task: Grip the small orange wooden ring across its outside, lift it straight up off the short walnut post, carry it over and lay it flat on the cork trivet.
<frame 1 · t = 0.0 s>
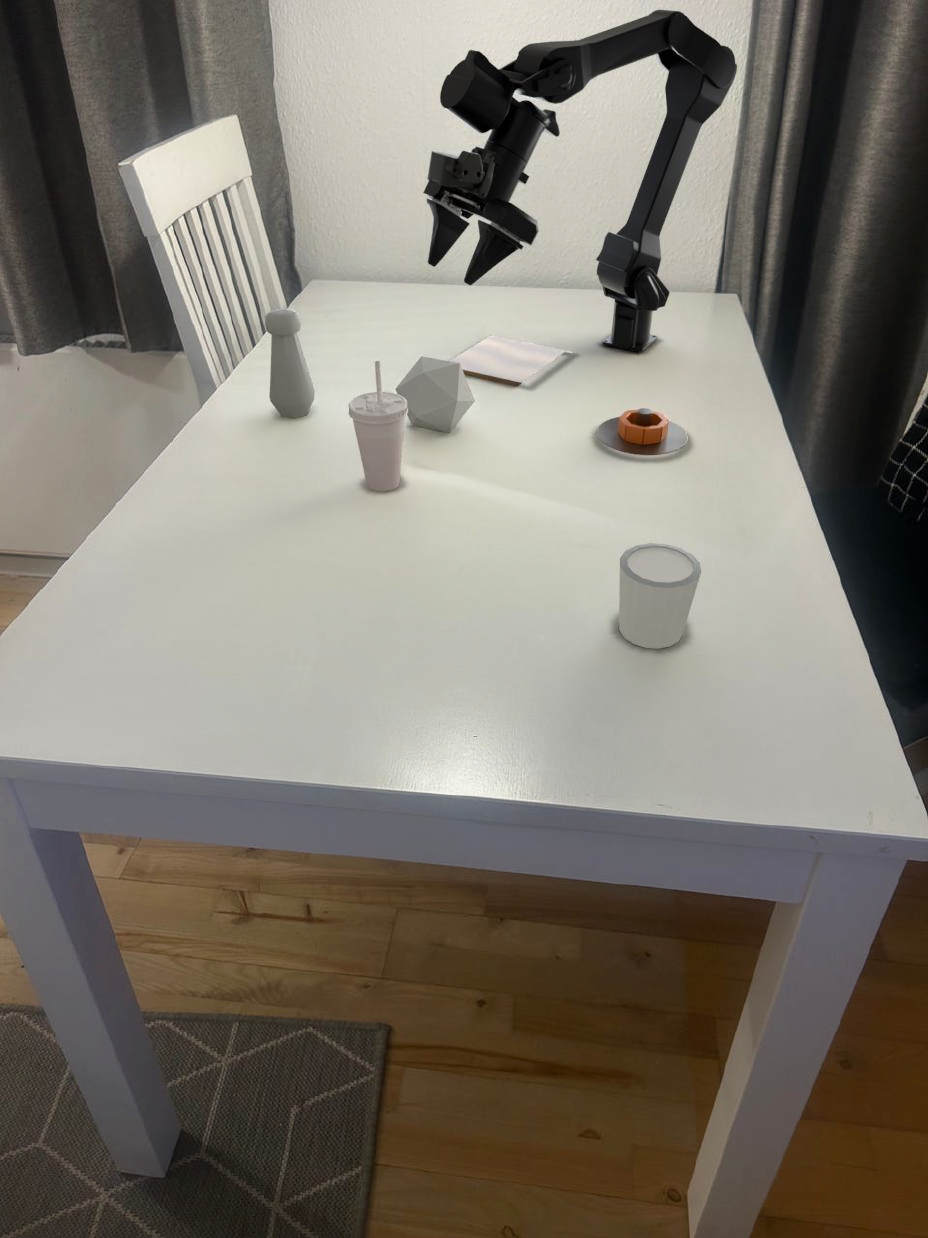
hand: (448, 274, 116), 15 cm above the table, tool tilted 35°, fingers open, 9 cm apart
smoothie: (383, 485, 103), on the table
salt shaker: (294, 413, 119), on the table
trivet: (509, 362, 132), on the table
shot glass: (650, 630, 82), on the table
ring post: (641, 440, 112), on the table
die: (436, 426, 115), on the table
ring: (642, 434, 111), point 1 cm above the table, touching ring post
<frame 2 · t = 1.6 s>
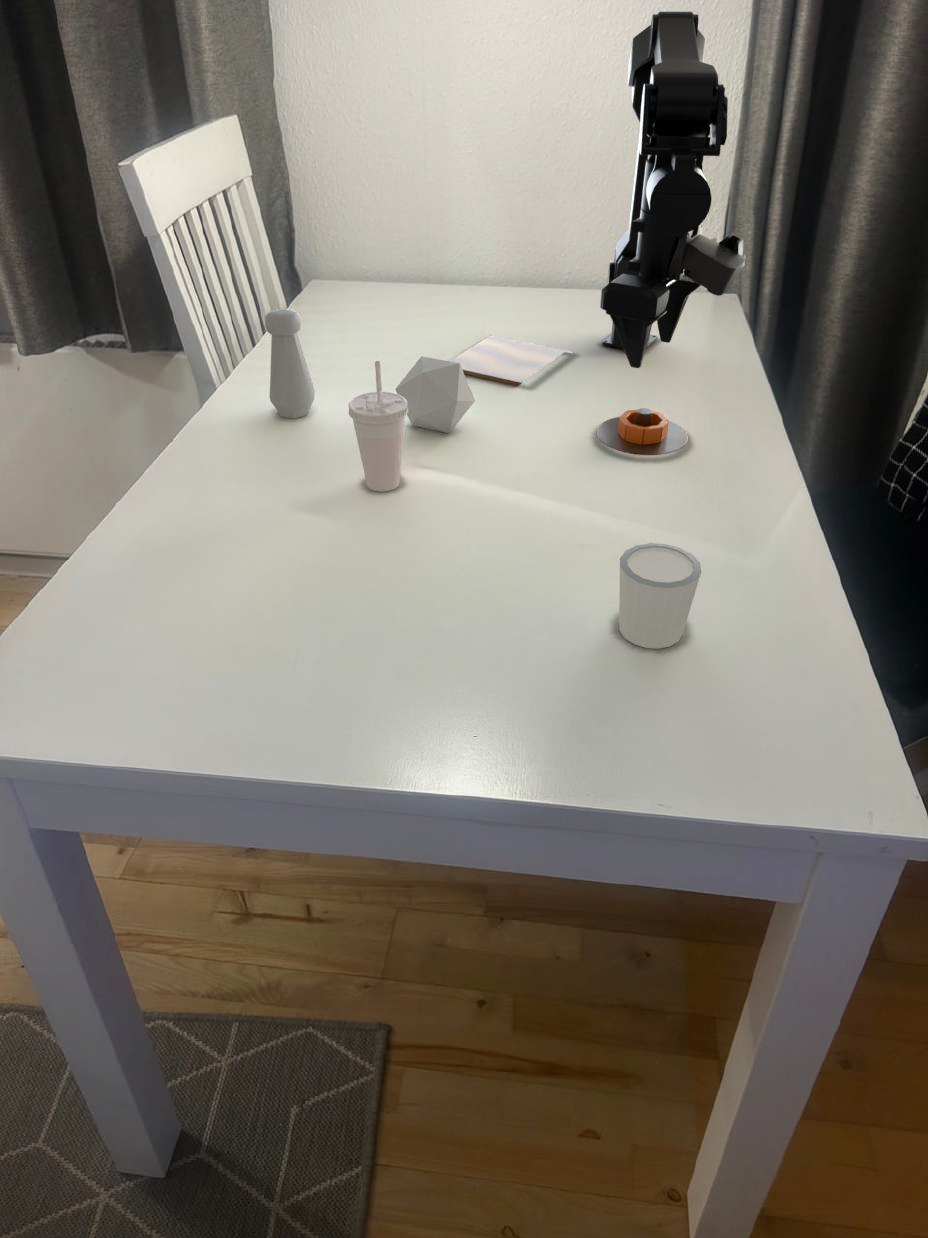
hand: (650, 354, 105), 11 cm above the table, tool pointing down, fingers open, 9 cm apart
nothing on the table moved.
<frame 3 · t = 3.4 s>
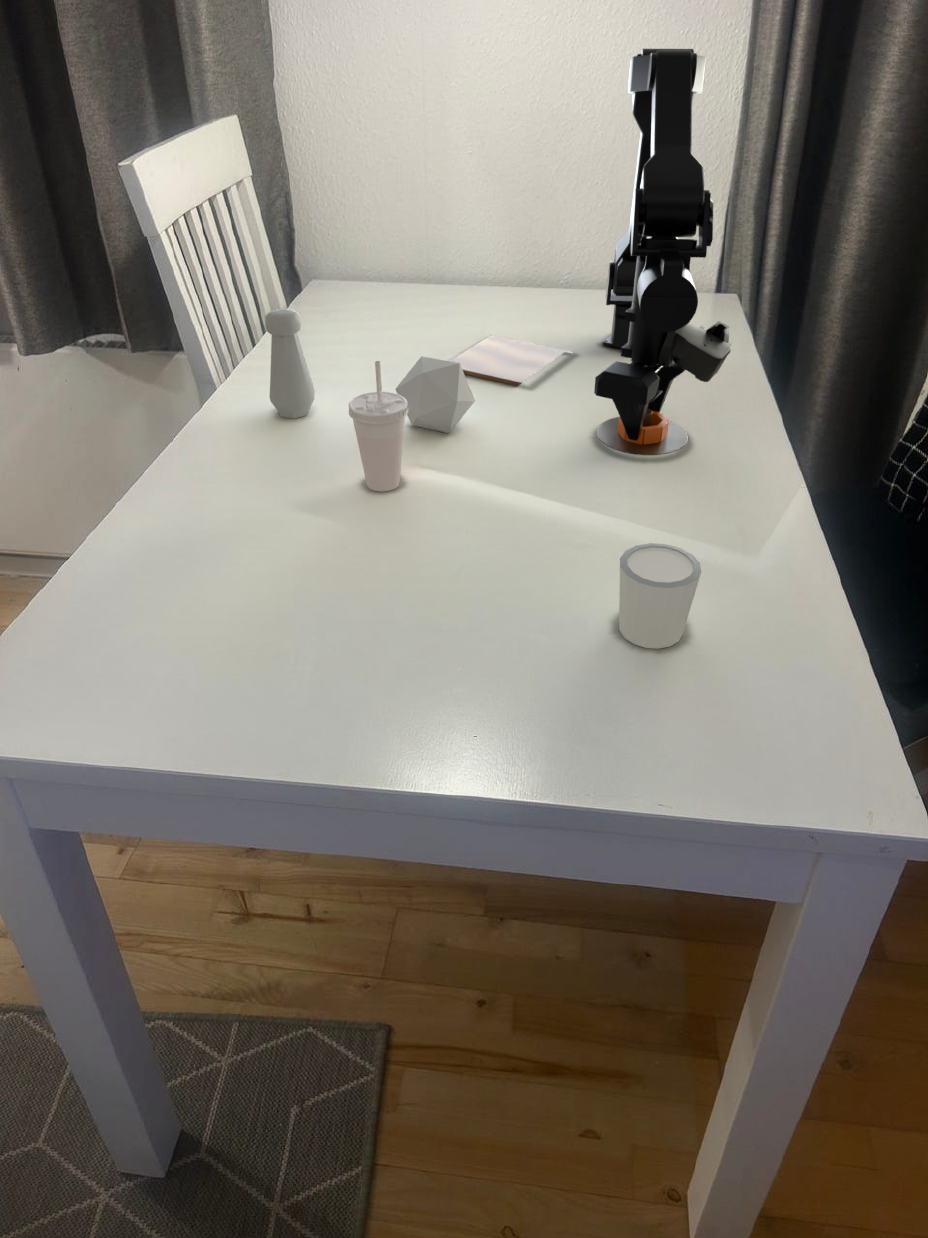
hand: (642, 430, 111), 1 cm above the table, tool pointing down, fingers closed on ring, 5 cm apart
ring: (642, 434, 111), point 1 cm above the table, touching gripper, ring post
everything else where it was.
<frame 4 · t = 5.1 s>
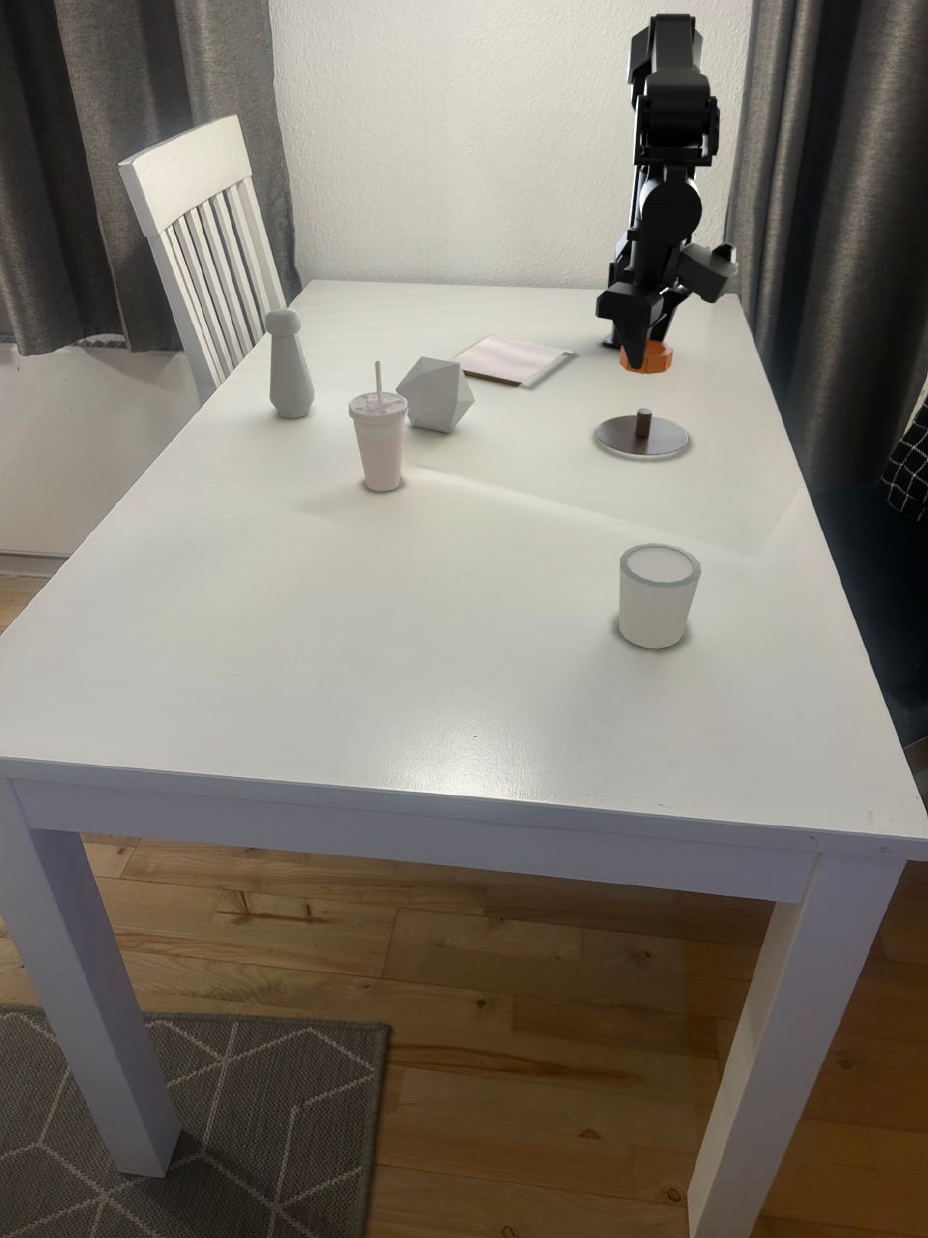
hand: (645, 360, 106), 10 cm above the table, tool pointing down, fingers closed on ring, 5 cm apart
ring: (645, 364, 107), point 9 cm above the table, touching gripper
everything else where it was.
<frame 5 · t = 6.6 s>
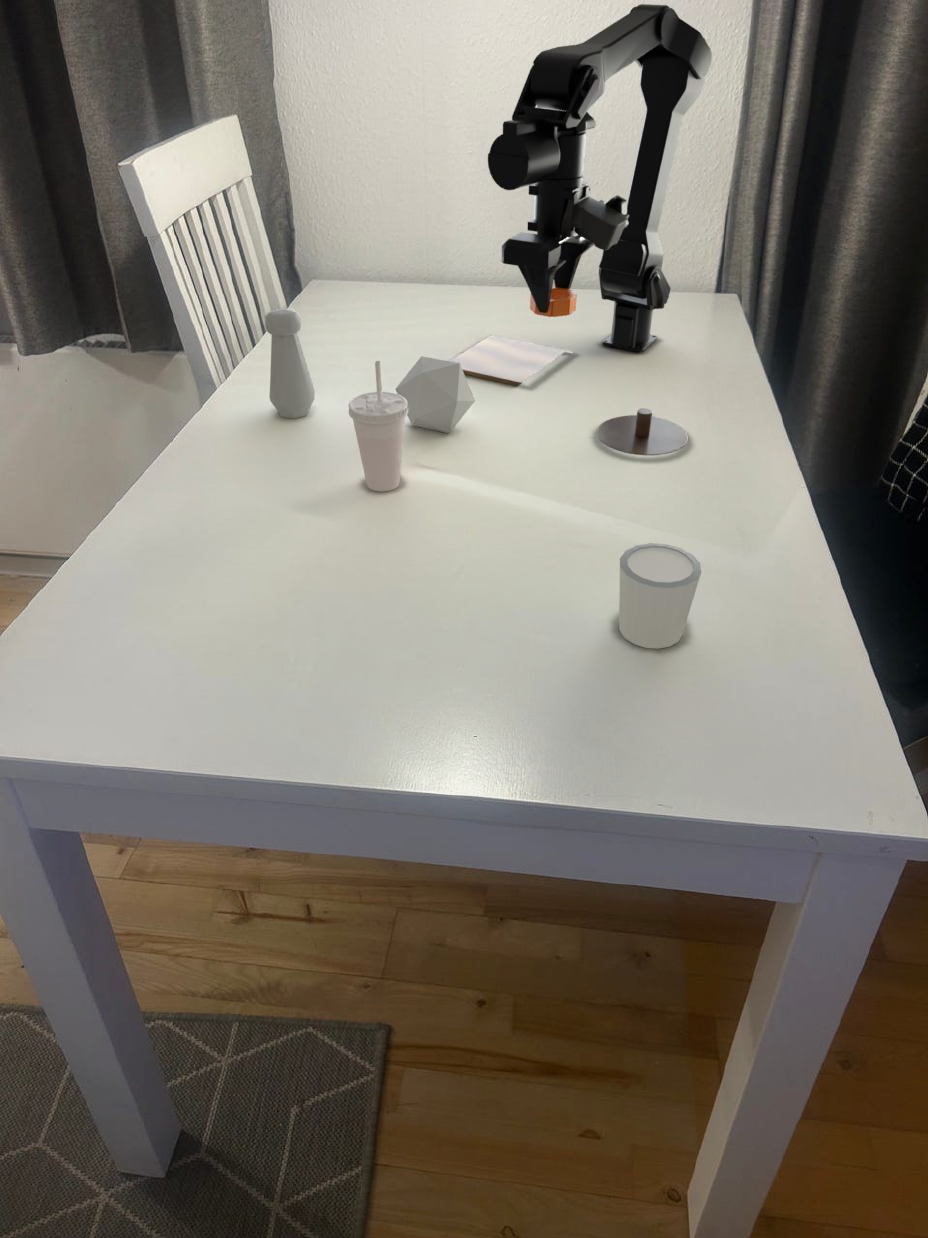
hand: (552, 305, 119), 11 cm above the table, tool pointing down, fingers closed on ring, 5 cm apart
ring: (552, 309, 119), point 10 cm above the table, touching gripper
everything else where it was.
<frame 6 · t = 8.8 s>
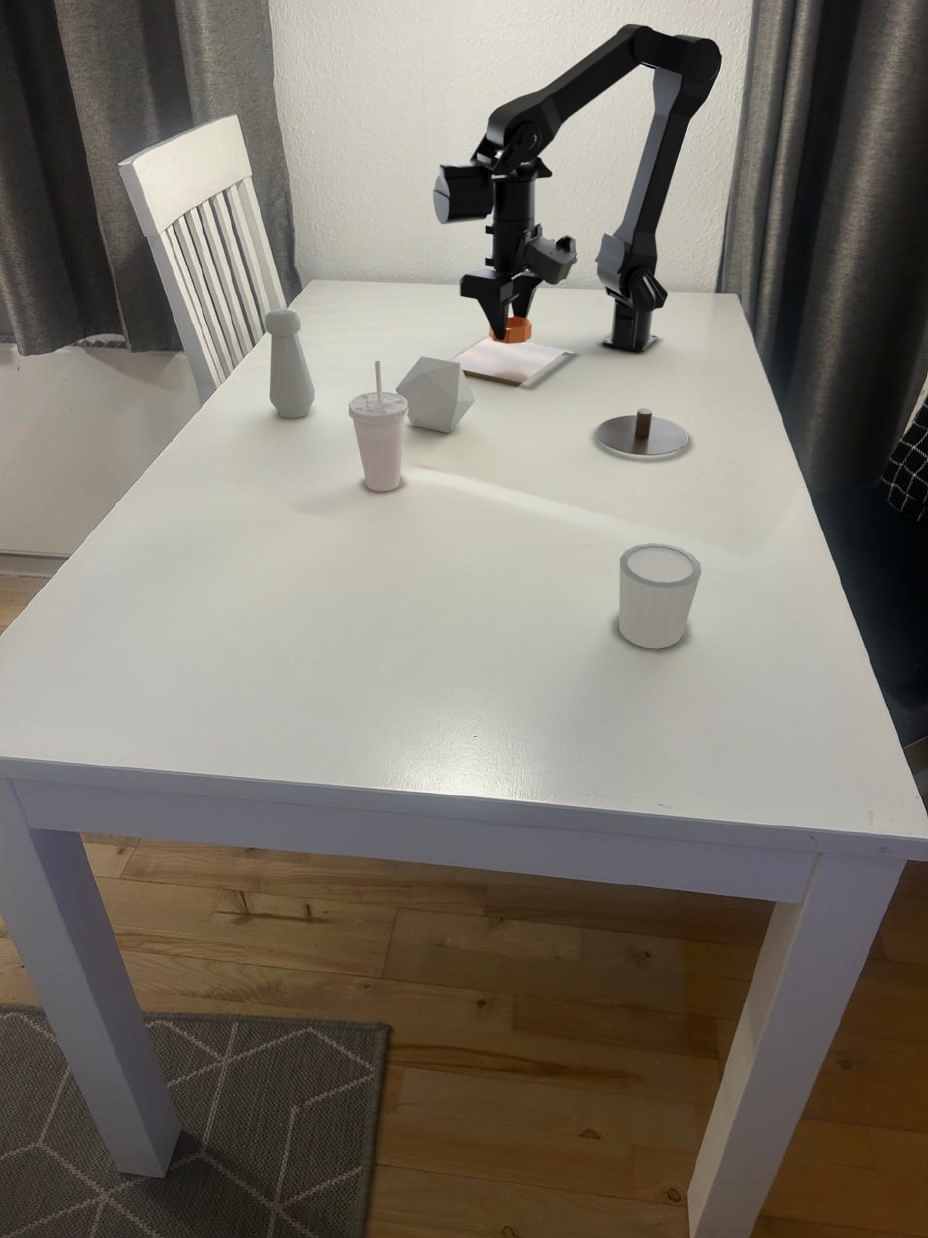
hand: (510, 333, 129), 4 cm above the table, tool pointing down, fingers closed on ring, 5 cm apart
ring: (510, 336, 130), point 4 cm above the table, touching gripper
everything else where it was.
when the fingers open (1 cm above the table, at t = 10.1 s): ring stays where it is, resting on trivet.
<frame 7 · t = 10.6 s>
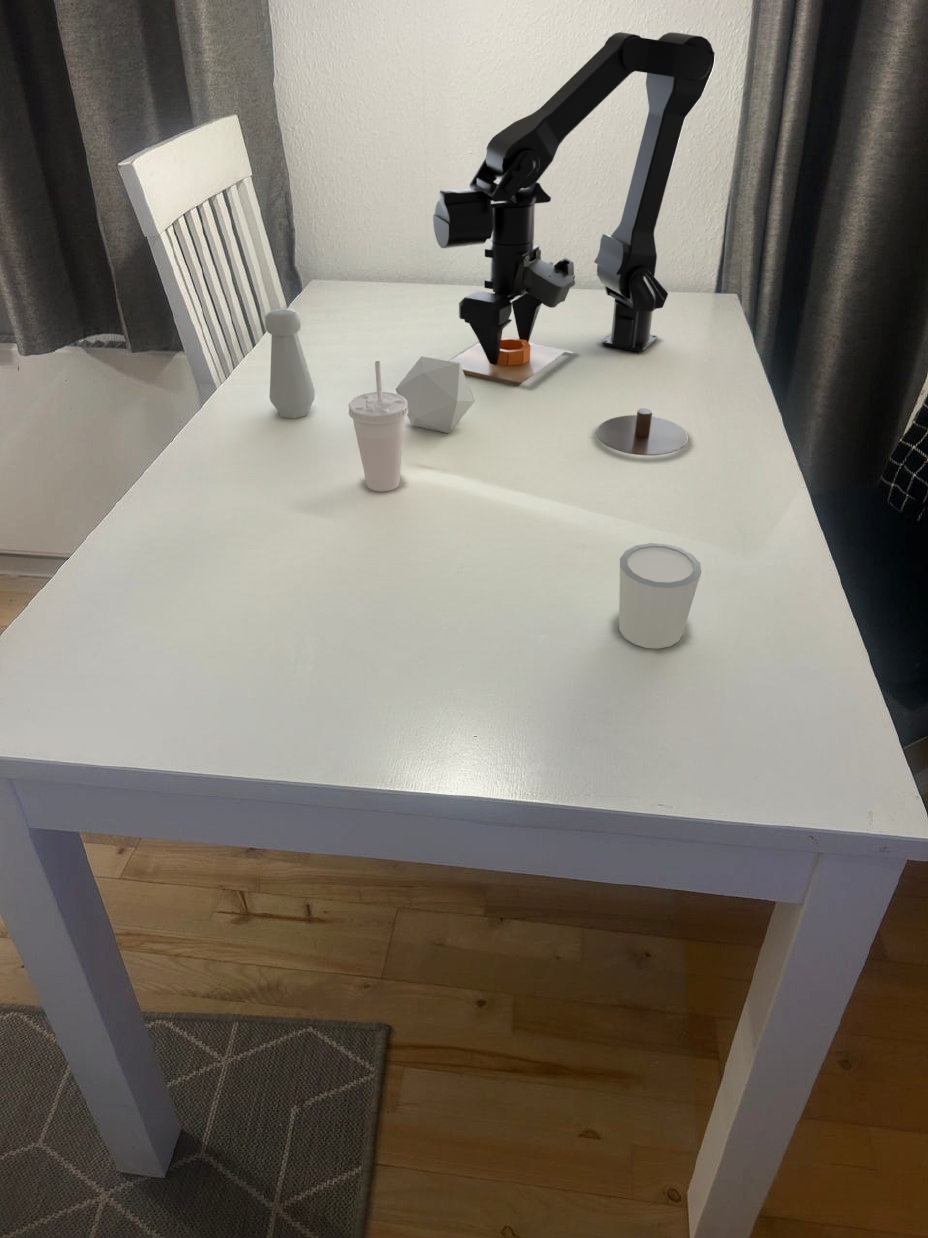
hand: (509, 353, 131), 1 cm above the table, tool pointing down, fingers open, 9 cm apart
ring: (509, 358, 131), point 1 cm above the table, touching trivet
everything else where it was.
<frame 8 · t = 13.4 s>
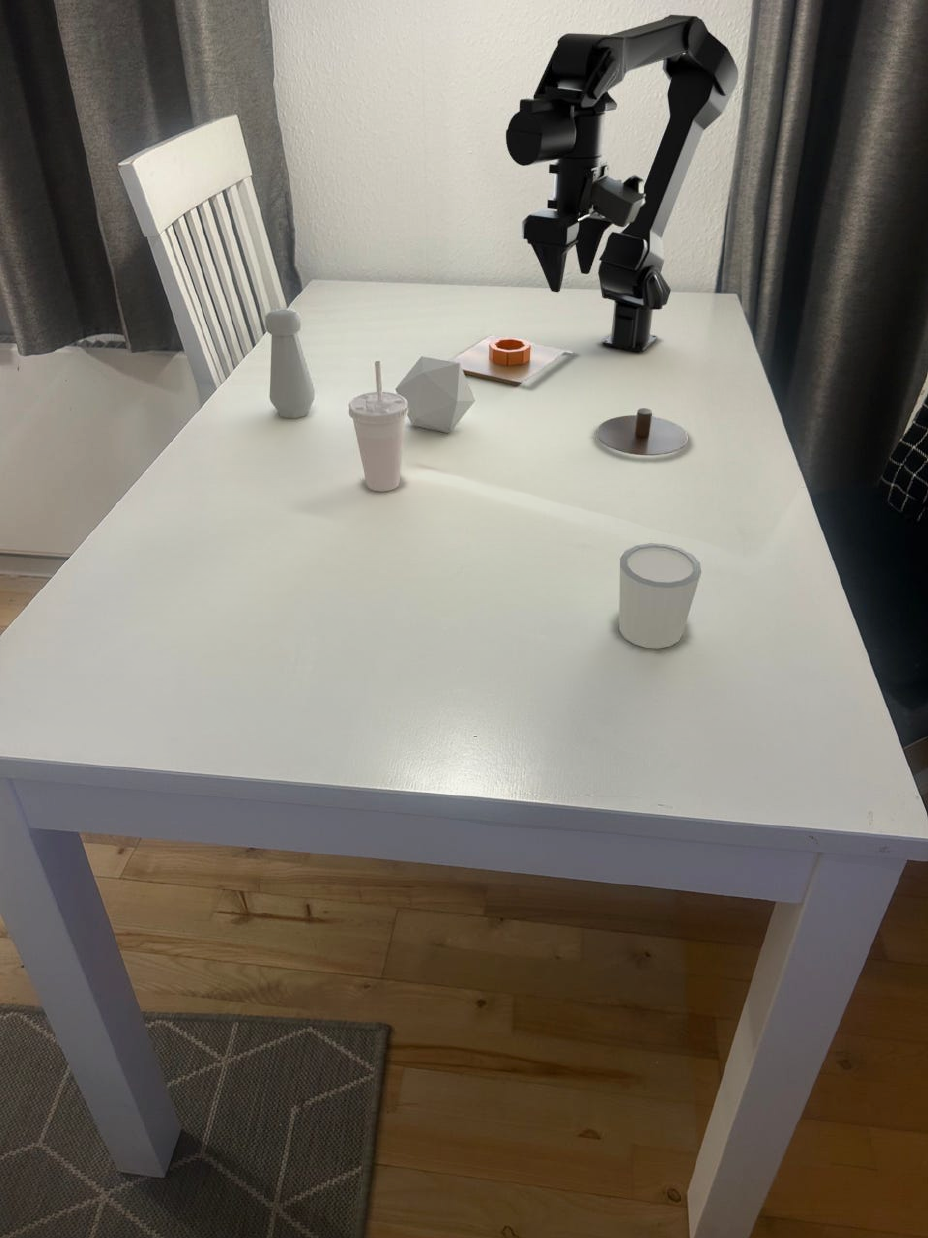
hand: (570, 282, 123), 12 cm above the table, tool pointing down, fingers open, 9 cm apart
nothing on the table moved.
at the end: ring inside the target area on the trivet (0.1 cm from its centre), point 0.6 cm above the trivet's base; ring tilted 0°; ring touching trivet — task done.
